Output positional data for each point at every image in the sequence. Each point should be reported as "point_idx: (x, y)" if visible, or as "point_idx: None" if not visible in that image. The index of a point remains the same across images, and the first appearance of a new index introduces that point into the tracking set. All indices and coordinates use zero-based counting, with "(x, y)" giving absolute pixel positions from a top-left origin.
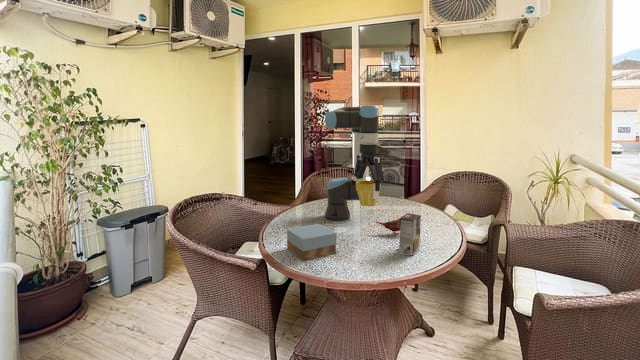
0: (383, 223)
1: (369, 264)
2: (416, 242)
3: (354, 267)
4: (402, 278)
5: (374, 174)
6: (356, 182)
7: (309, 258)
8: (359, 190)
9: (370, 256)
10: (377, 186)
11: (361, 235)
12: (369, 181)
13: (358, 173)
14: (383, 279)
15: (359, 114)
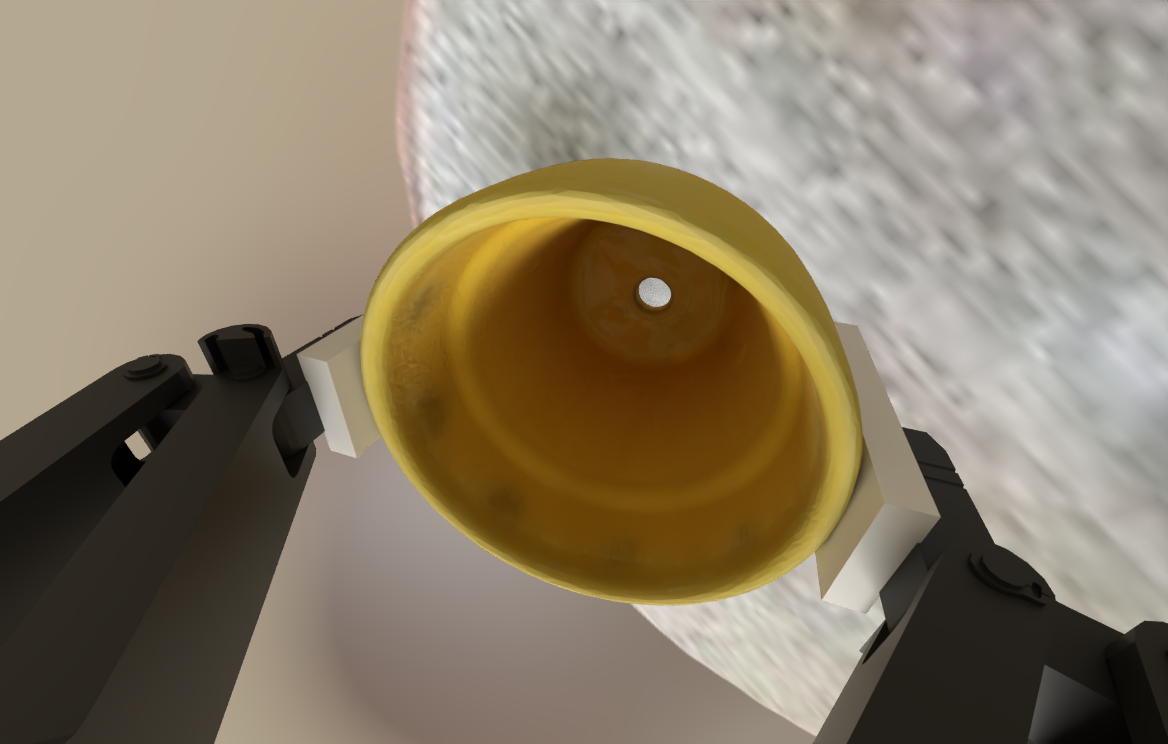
0: None
1: (580, 72)
2: None
3: None
4: (400, 101)
5: (131, 503)
6: (760, 280)
7: None
8: (588, 160)
9: (656, 160)
10: (307, 347)
11: (924, 358)
12: (710, 574)
13: (964, 694)
14: (418, 4)
15: None
